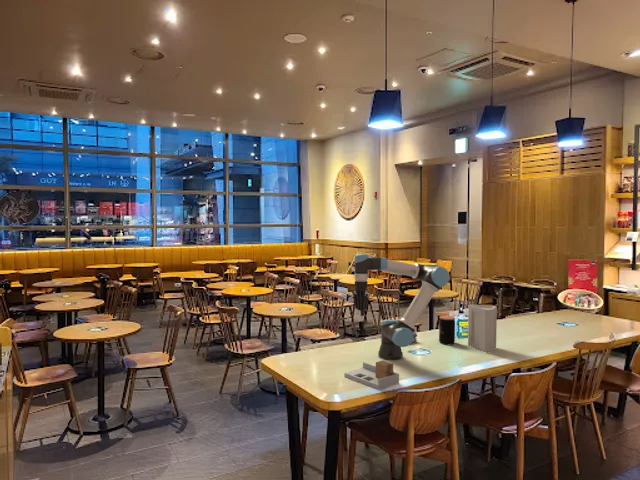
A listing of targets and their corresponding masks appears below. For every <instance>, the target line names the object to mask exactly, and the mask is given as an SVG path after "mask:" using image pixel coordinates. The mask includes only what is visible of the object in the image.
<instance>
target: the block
mask: <svg viewBox="0 0 640 480" xmlns="http://www.w3.org/2000/svg"><path fill="white" fill-rule="evenodd" d="M375 366H376V378H379V379H381V378H384V377H388V376H391V375H393V372H394V363H393V362H391V361H387V360H385V359H383V360H379V361H376V362H375Z"/></svg>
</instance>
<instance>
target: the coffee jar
mask: <svg viewBox="0 0 640 480" xmlns="http://www.w3.org/2000/svg"><path fill="white" fill-rule="evenodd" d="M455 319H456V317H454V316H452V315H440V316H439V321H438V322H439V323H438V325H439V326H438V329H439V330H438V334H439V335H438V342H439V343H440V344H442V345H448V344H450V345H454V344H455V341H456V320H455Z"/></svg>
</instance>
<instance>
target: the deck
mask: <svg viewBox="0 0 640 480" xmlns="http://www.w3.org/2000/svg"><path fill="white" fill-rule="evenodd" d="M344 377H345V378H348V379H350V380H352V381H353V380H354V381H355V382H358V383H361V384H363V385H365V386H369V387H371V388H373V389H377V390H383V389H386V388H389V387H392V386H396V385H398V384H400V373H398V372H394V371H393V375H391V376H388V377H384V378H381V379H379V378H376V365H374V364H371V363H367V362H362V368H357V369H352V370H350V371H346V372H344Z"/></svg>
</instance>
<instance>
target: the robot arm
mask: <svg viewBox="0 0 640 480" xmlns="http://www.w3.org/2000/svg"><path fill="white" fill-rule="evenodd" d="M368 271H383V272H387V273H391V274H392V273H393V274H397V275H402V276H406V277H411V278H412V279H413V280H414V279H415V280H417V281H421V285H420V286H421V287H420V288H419V290H418V292H417V293H416V295H415V296H414V298H413V300H412V302H411V303H409V306H408V308H407V309H406V311H405V313H404V314H403V316H402V318H399V319H384V320H383V319H382V321H381V322H380V323H381V325H380V327H381V328H380V330H381V331H380V335H381V336H380V341H381V343H380V346H379V350H378V353H377V354H378V355H377V356H378V357H379V358H380V359H383V360H389V361H391V360H393V361H396V360H401V359H402V358H403V357H404V353H403V351H402V348H406V347H408V346H410V345H411V344H412V343H413V342H412V341H413V339H414V336H413V333H414V332H416V328H415V326H416V324H417V323H418V321H419V319H420V318H421V316H422V314H423V313H424V311H425V309H426V308H427V306H428V305H429V303H430V301H431V299H432V297H433V296H434V294H435V293H438V292H439V291H440V290H441V288H442V287H445V286H447V285H448V283H449V281H450V273H449V271H448V270H447V268H445V267H443V266H440V265H433V264H420V263H414V264H413V263H412V264H411V263H406V262H402V261H396V260H394V259H393V260H392V259H388V258H387V257H384V256H373V255H368V254H367V253H356V254H355V255H354V288H355V289H354V291H351V294H352V297H353V303H354V308H355V309H356V310H357V317H358V318H357V319H358V320H357V321H358V322H364V316H365V310H367V309H368V305H369V298H370V296H371V293H369V292H368V285H369V284H368V283H369V282H368V279H369V278H368V277H369V276H368V273H369V272H368Z"/></svg>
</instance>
